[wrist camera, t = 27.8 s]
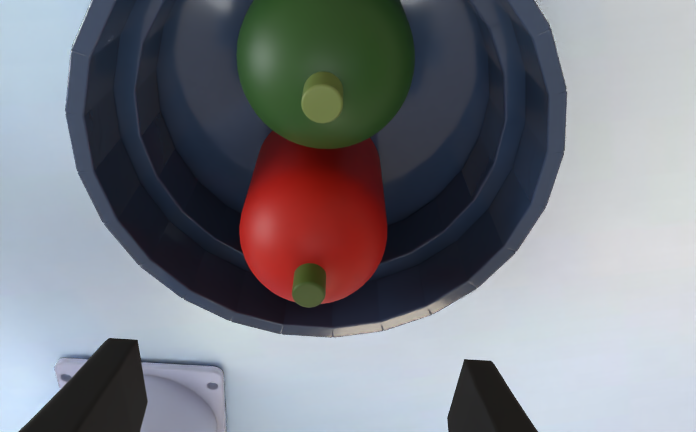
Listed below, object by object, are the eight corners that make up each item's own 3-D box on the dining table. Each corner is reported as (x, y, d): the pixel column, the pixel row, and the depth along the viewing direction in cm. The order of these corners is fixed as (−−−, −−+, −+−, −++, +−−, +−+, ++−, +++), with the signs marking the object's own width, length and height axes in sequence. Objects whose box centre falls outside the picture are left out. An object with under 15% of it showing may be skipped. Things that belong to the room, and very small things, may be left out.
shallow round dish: (472, 261, 24) (499, 348, 19) (150, 239, 23) (107, 324, 19) (569, -103, 16) (646, -90, 12) (100, -152, 16) (9, -155, 11)
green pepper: (431, 5, 18) (475, 81, 12) (345, 115, 20) (345, 229, 14) (310, -93, 16) (289, -63, 10) (231, 37, 18) (175, 127, 12)
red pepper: (328, 240, 22) (322, 378, 16) (233, 176, 21) (188, 304, 15) (406, 162, 21) (430, 287, 15) (307, 86, 19) (290, 191, 13)
